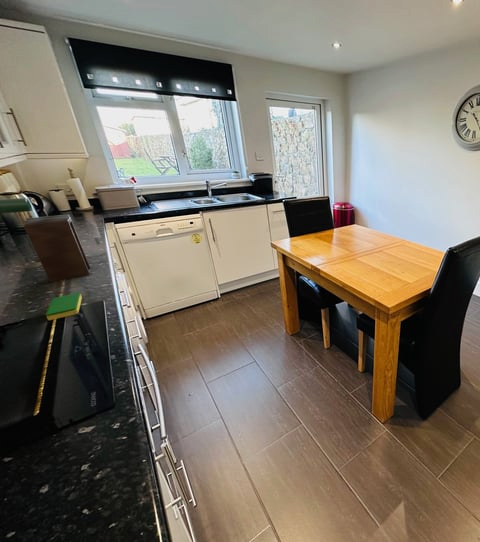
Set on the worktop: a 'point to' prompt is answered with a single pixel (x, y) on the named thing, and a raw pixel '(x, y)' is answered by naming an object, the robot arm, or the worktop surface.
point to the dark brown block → (57, 246)
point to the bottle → (15, 205)
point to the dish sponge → (64, 306)
